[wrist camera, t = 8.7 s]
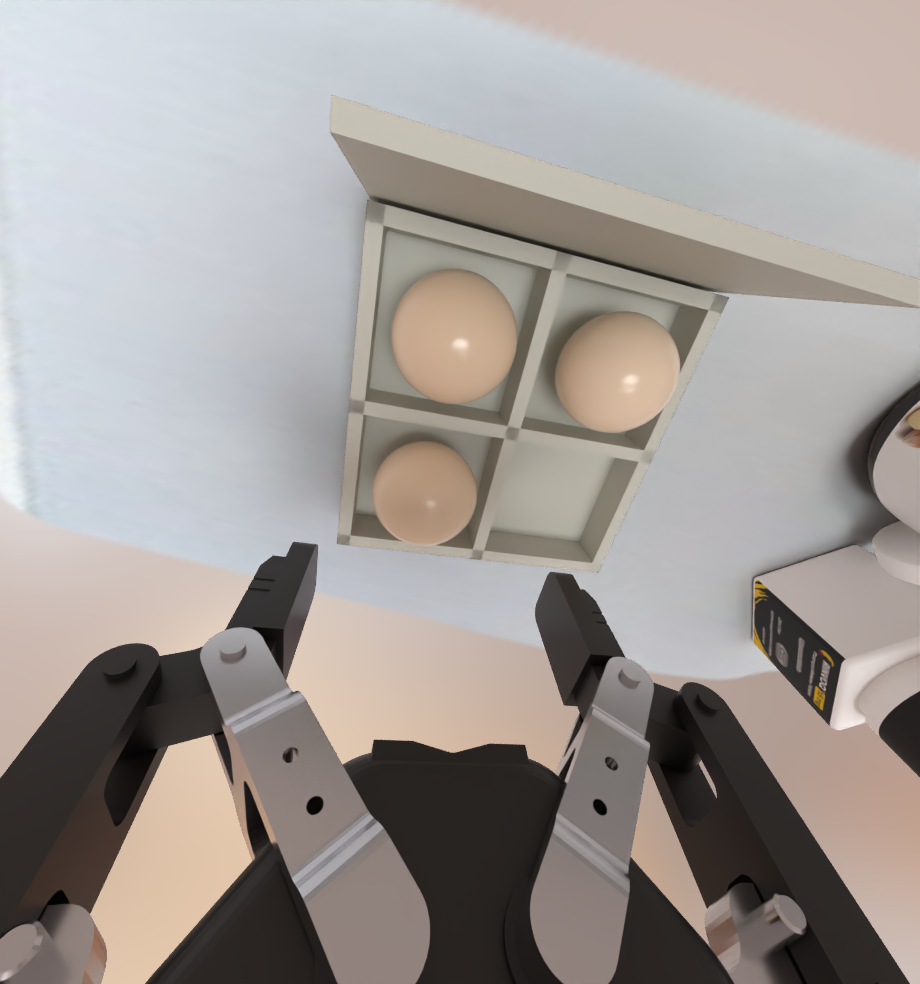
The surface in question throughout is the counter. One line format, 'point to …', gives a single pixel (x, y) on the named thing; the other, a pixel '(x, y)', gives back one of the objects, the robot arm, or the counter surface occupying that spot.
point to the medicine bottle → (847, 642)
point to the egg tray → (541, 325)
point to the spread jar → (898, 488)
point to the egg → (424, 493)
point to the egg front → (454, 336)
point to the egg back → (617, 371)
